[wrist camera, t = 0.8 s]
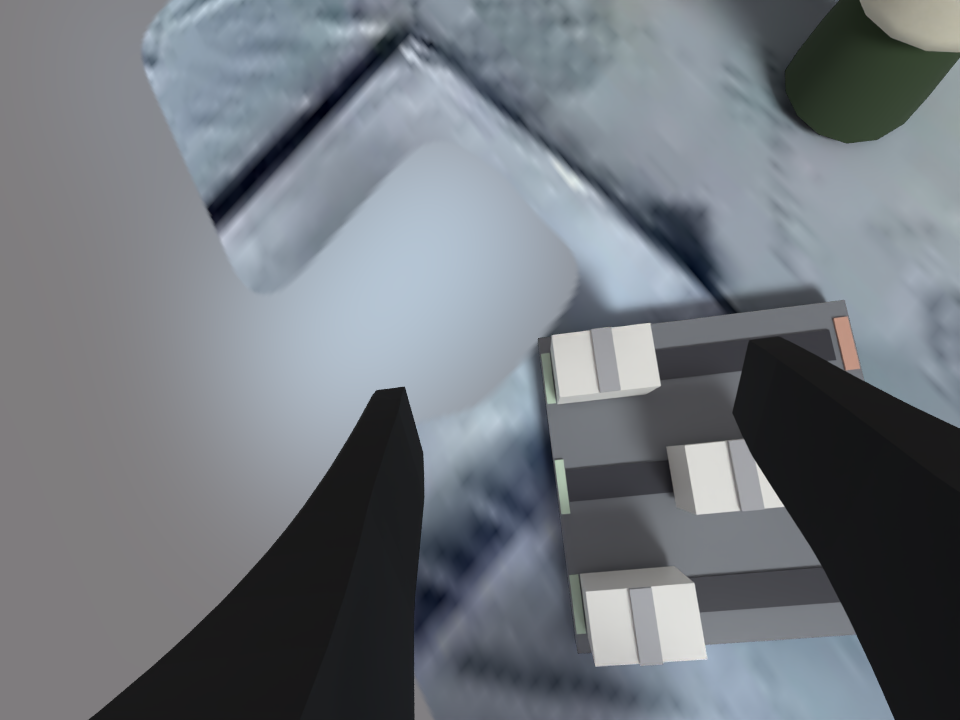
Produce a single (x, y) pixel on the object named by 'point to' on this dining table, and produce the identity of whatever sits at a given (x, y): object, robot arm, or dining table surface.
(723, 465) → the block
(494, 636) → the dining table surface
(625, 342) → the block
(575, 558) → the panel
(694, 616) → the block
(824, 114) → the character mug
